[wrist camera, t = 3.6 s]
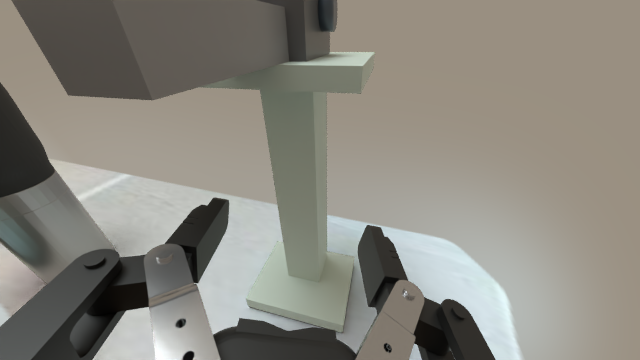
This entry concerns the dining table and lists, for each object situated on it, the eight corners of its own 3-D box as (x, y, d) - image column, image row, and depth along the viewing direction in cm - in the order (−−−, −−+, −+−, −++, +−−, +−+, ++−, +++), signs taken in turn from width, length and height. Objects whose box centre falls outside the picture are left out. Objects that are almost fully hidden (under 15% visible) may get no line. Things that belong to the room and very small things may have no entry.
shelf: (248, 306, 33) (163, 63, 16) (278, 248, 42) (245, 52, 25) (342, 332, 30) (362, 65, 13) (353, 264, 39) (374, 52, 22)
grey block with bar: (34, 93, 8) (-120, -137, 5) (266, 53, 22) (258, -12, 20) (215, 104, 6) (127, -226, 4) (339, 53, 21) (340, -18, 18)
